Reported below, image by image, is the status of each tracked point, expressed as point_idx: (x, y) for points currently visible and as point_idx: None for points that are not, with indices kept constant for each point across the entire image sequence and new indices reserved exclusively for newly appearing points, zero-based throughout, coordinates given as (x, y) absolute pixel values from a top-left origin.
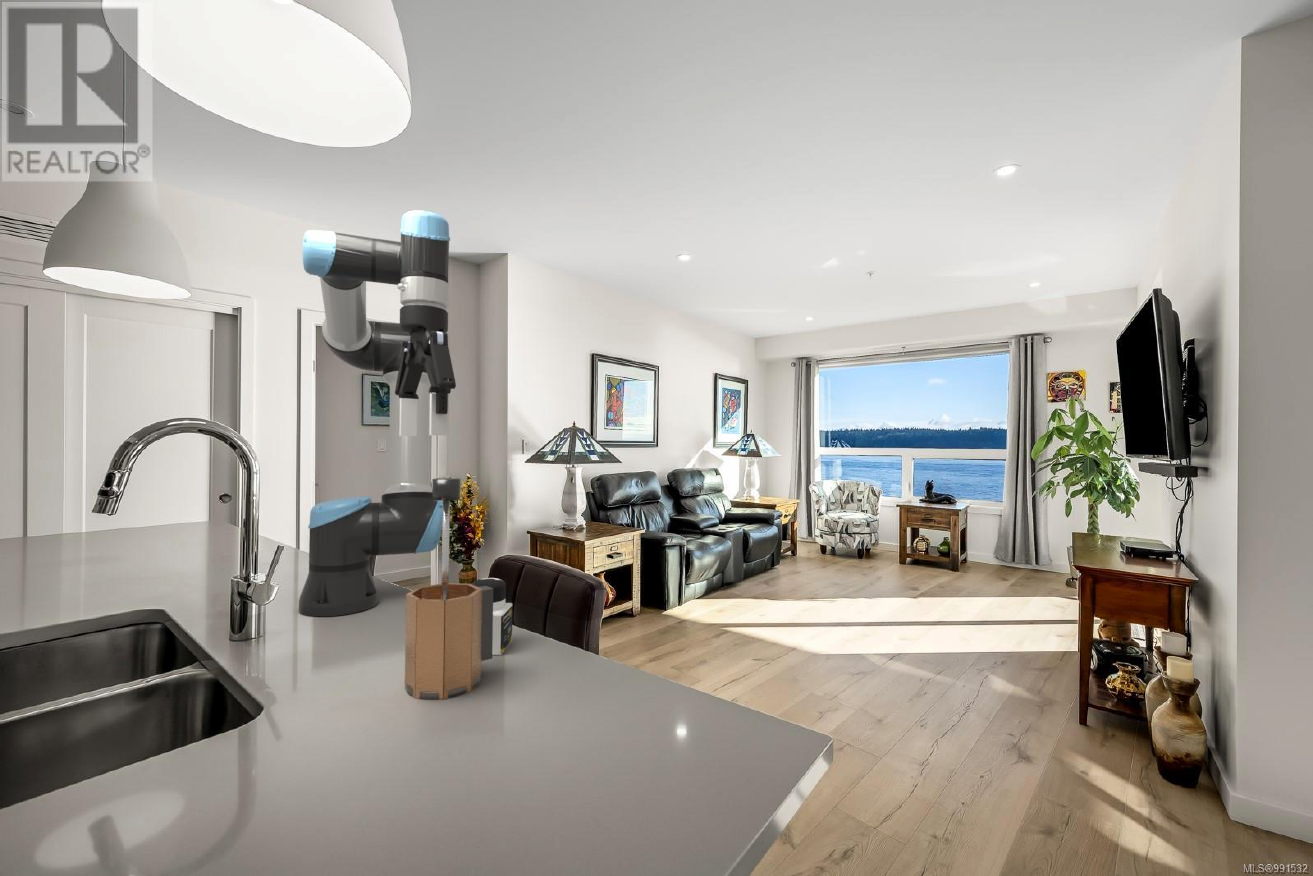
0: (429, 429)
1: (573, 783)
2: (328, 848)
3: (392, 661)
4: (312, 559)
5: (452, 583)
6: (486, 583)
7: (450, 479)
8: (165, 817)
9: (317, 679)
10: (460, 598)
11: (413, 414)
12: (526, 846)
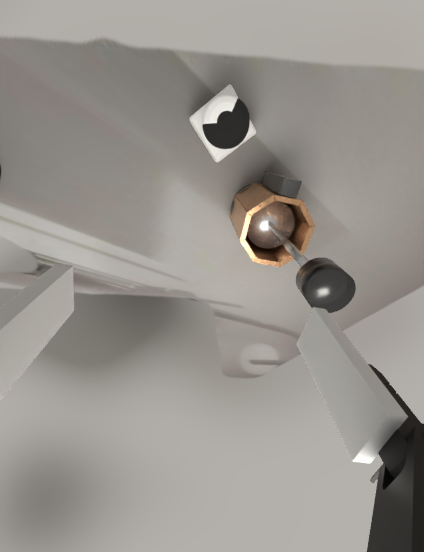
0: (301, 354)
1: (414, 240)
2: (341, 323)
3: (181, 211)
4: None
5: (256, 207)
6: (236, 135)
7: (345, 294)
8: (269, 349)
9: (174, 264)
10: (310, 237)
11: (27, 319)
12: (414, 281)
